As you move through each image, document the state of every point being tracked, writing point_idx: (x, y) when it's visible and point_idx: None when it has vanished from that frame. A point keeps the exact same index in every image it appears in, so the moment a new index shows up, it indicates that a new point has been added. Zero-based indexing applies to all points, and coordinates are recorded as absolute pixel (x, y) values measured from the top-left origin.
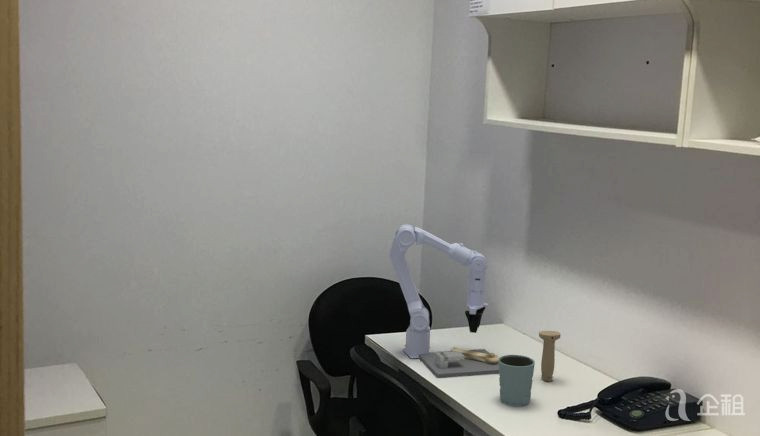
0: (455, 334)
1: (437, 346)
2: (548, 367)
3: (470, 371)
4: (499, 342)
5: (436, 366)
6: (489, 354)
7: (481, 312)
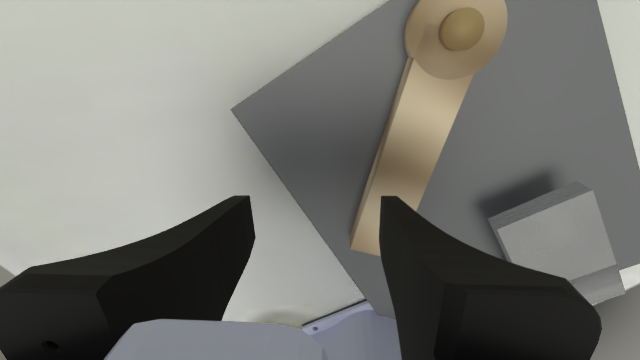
0: (73, 256)
1: (254, 292)
2: None
3: (620, 125)
4: (38, 53)
5: None
6: (471, 47)
7: (168, 272)
